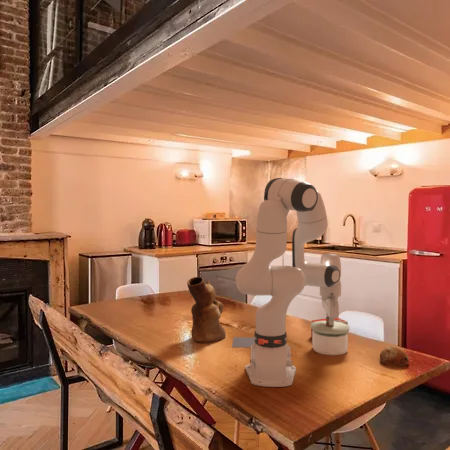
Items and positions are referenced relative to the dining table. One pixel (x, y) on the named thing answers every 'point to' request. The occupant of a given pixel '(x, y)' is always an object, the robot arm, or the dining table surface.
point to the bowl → (330, 343)
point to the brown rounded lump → (393, 356)
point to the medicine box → (334, 320)
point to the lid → (329, 327)
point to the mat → (243, 342)
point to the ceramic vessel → (205, 312)
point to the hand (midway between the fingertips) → (330, 323)
